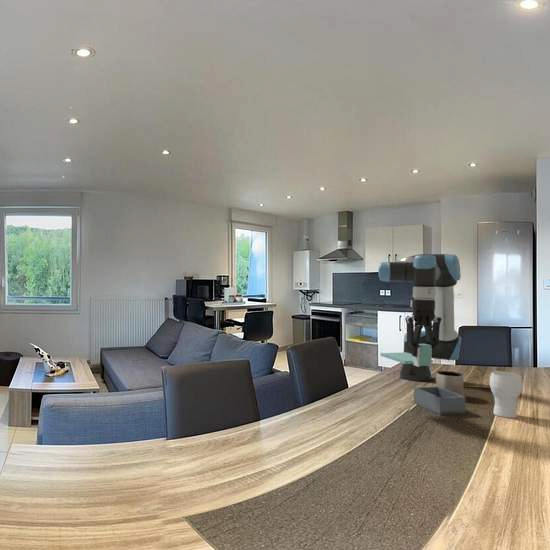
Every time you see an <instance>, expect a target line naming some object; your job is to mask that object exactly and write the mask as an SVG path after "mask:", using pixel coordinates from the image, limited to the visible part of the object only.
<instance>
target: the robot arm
mask: <svg viewBox="0 0 550 550" xmlns="http://www.w3.org/2000/svg"><path fill="white" fill-rule="evenodd" d="M377 271H378V272H377V273H378V278H379V280H380V281H381V282H387V283H388V282H390V283H391V282H400V283H401V282H403V283H404V282H405V283H413V284H412V285H413V286H412V298H414V299H412V314H411V315H410V316H405V319H404V320H405V323H406V333H405V334H404V337H403V353H405V352H407V353H410V354H412V356H414V359H413V364H404V363H401V368H400V371H399V377H400V378H401V379H403V380H407V381H414V382H416V381H417V382H427V381H431V380H432V373H431V372H432V371H431V369H430V367H432V364H431V365H429V366H420V348H419V347H418V345H419V344H428V345H431V361H432V360H433V359H434V360H436V359H437V360H445V361H458V360H459V357H460V350H461V344H462V337H461V336H459V333H458V332H457V330H455V297H454V296H455V295H454V294H455V293H454V287H455V286H456V285H457V284H458V281H460V280H461V265H460V260H459V257H458V256H457V255H456V254H452V253H451V254H449V253H438V254H437V253H434V254H433V253H429V254H428V253H427V254H426V253H422V254H414V255H411V256H407V257H404V258H403V259H401V260H397V261H382V262H380V263H379V265H378V270H377ZM423 328H424V330H422V329H423Z"/></svg>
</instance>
